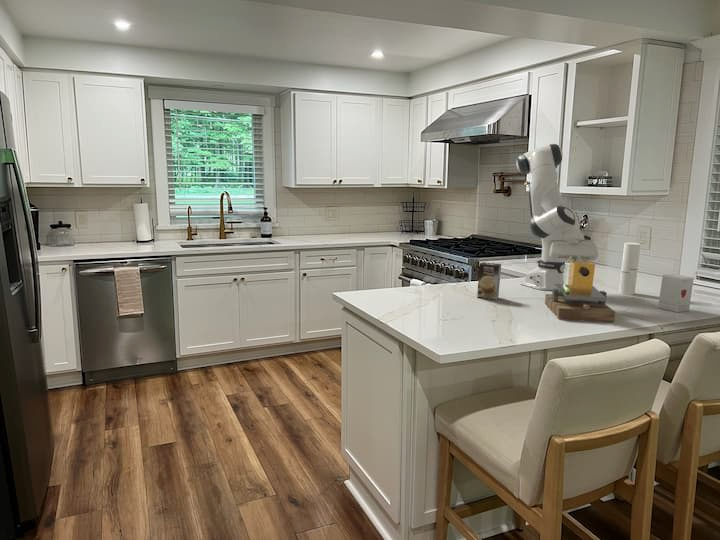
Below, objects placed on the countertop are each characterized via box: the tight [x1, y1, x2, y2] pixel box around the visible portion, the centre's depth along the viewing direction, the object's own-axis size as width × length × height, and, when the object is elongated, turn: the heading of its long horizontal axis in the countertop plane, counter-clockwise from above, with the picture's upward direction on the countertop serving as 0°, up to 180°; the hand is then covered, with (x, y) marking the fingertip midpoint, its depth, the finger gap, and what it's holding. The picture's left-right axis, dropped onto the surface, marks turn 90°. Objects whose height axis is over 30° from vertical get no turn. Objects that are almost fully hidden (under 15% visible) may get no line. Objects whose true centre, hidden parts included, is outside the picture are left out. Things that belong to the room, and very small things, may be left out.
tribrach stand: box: [544, 289, 616, 323], centre depth 223 cm, size 26×21×10 cm
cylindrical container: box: [618, 242, 642, 296], centre depth 263 cm, size 7×7×25 cm
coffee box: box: [476, 261, 502, 300], centre depth 246 cm, size 9×6×16 cm
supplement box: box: [657, 273, 695, 313], centre depth 233 cm, size 9×9×15 cm
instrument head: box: [554, 260, 607, 302], centre depth 221 cm, size 18×16×14 cm
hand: (575, 265), depth 232 cm, fingers closed
